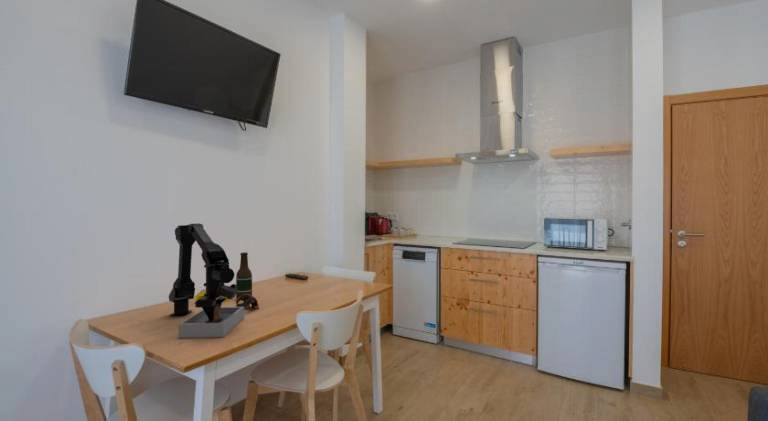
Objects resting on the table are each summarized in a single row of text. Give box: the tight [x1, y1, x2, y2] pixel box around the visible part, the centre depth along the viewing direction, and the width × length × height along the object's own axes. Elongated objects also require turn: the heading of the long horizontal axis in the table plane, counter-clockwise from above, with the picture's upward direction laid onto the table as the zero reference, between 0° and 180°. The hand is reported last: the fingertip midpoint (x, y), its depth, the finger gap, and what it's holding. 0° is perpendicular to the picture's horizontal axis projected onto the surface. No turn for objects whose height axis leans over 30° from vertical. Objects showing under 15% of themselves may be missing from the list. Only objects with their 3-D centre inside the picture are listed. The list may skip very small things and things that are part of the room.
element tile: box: [195, 288, 230, 303], centre depth 184 cm, size 15×15×5 cm
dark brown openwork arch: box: [235, 294, 260, 310], centre depth 166 cm, size 12×10×8 cm
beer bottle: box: [235, 251, 253, 302], centre depth 184 cm, size 8×8×24 cm
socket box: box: [177, 306, 245, 339], centre depth 140 cm, size 22×16×5 cm
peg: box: [208, 304, 219, 323], centre depth 140 cm, size 4×4×7 cm
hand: (213, 319), depth 140 cm, fingers closed on peg, 4 cm apart
